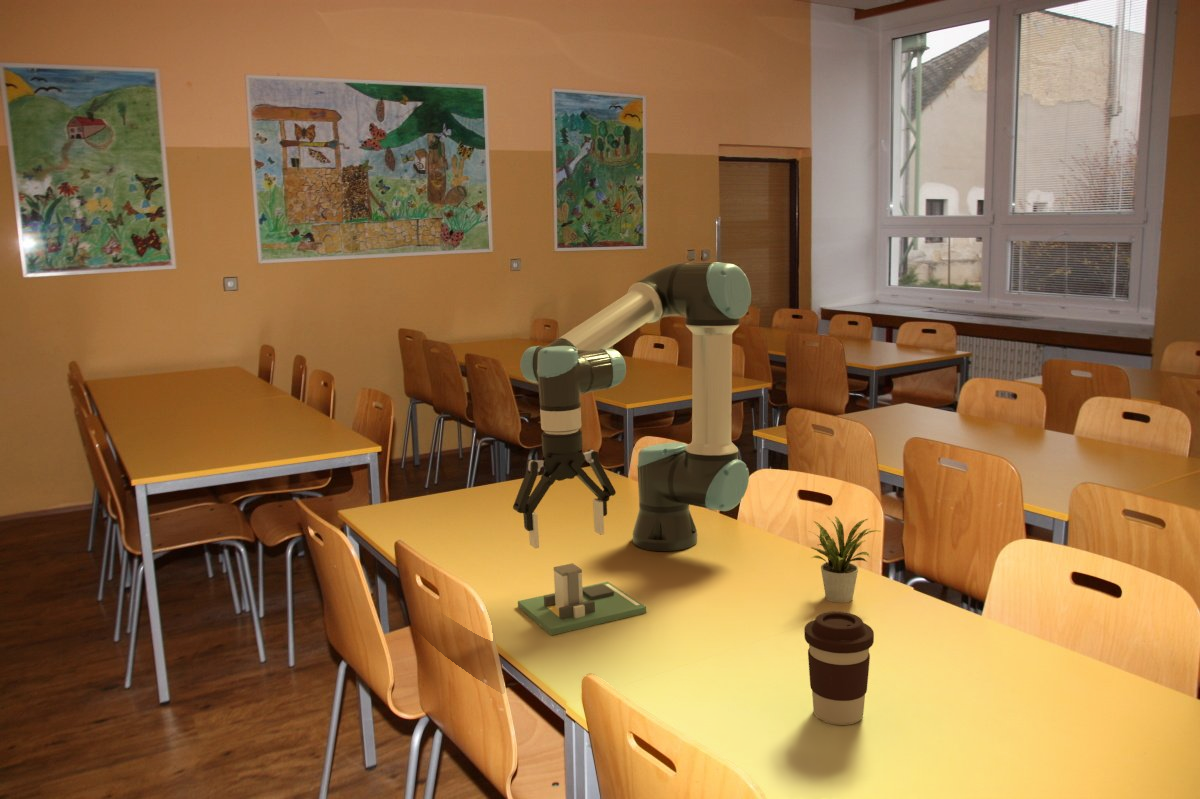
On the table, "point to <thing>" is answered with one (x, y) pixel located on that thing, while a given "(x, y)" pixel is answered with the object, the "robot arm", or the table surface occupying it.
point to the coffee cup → (838, 665)
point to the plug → (568, 585)
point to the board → (582, 609)
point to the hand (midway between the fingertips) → (567, 539)
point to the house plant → (840, 562)
